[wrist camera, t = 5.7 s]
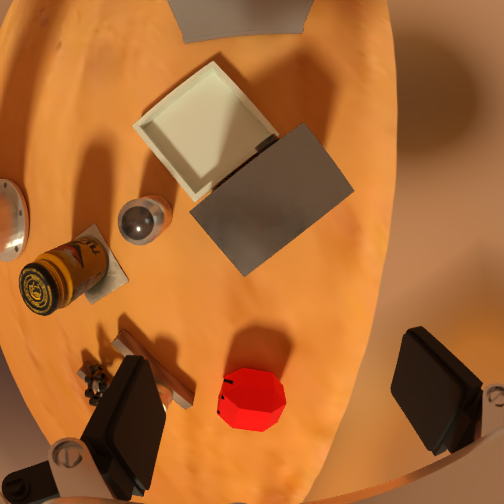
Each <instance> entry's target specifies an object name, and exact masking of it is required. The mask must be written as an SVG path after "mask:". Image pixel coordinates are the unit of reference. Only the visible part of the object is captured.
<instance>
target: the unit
mask: <svg viewBox="0 0 504 504" xmlns="http://www.w3.org/2000/svg"><path fill="white" fill-rule="evenodd" d="M255 150H256V151H257V152H258V153H259V154H260V155H259V156H257V157H256V158H255V159H253V160H252V161H251V162H249V163H248V164H247V165H246V166H244V167H243V168H242V169H241V170H239V171H238V172H237V173H236V174H234V175H233V176H232V177H231V178H229V179H228V180H227V181H226V182H224V183H223V184H222V185H221V186H219V187H218V188H217V189H216V190H215V191H213V192H212V193H211V194H210V195H209V196H207V197H206V198H205V199H204V200H203V201H201V202H200V203H199V204H198V205H197V206H196V207H194V208H193V209H192V210H191V211H190V213H191V215H192V216H193V217H194V218H195V219H196V221H197V222H198V223H199V224H200V225H201V227H202V228H203V229H204V230H205V231H206V233H207V234H208V235H209V236H210V237H211V239H212V240H213V241H214V242H215V243H216V244H217V246H218V247H219V248H220V249H221V250H222V252H223V253H224V254H225V255H226V256H227V257H228V259H229V260H230V261H231V262H232V263H233V264H234V266H235V267H236V268H237V269H238V270H239V271H240V273H241V274H242V275H243V276H244V277H245V276H247V275H248V274H249V273H250V272H252V271H253V270H254V269H256V268H257V267H258V266H260V265H261V264H262V263H263V262H265V261H266V260H267V259H269V258H270V257H271V256H272V255H274V254H275V253H276V252H278V251H279V250H280V249H282V248H283V247H284V246H285V245H287V244H288V243H289V242H291V241H292V240H293V239H294V238H296V237H297V236H298V235H300V234H301V233H302V232H303V231H305V230H306V229H307V228H308V227H310V226H311V225H312V224H314V223H315V222H316V221H317V220H319V219H320V218H321V217H322V216H324V215H325V214H326V213H328V212H329V211H330V210H331V209H333V208H334V207H335V206H336V205H338V204H339V203H340V202H341V201H343V200H344V199H345V198H346V197H348V196H349V195H350V194H351V193H353V192H354V190H353V188H352V187H351V185H350V184H349V182H348V181H347V179H346V178H345V176H344V175H343V174H342V172H341V171H340V169H339V168H338V167H337V165H336V164H335V162H334V161H333V160H332V158H331V157H330V156H329V154H328V153H327V152H326V150H325V149H324V148H323V146H322V145H321V144H320V142H319V141H318V140H317V138H316V137H315V136H314V135H313V133H312V132H311V131H310V129H309V128H308V127H307V126H306V124H305V123H304V122H303V123H302V124H301V125H299V126H298V127H296V128H295V129H294V130H292V131H291V132H289V133H288V134H287V135H285V136H284V137H283V138H281V139H280V140H279V138H278V137H277V136H276V135H275V134H272V135H270V136H269V137H267V138H266V139H265V140H263V141H262V142H261V143H260V144H258V145H257V146H256V147H255Z"/></svg>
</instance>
